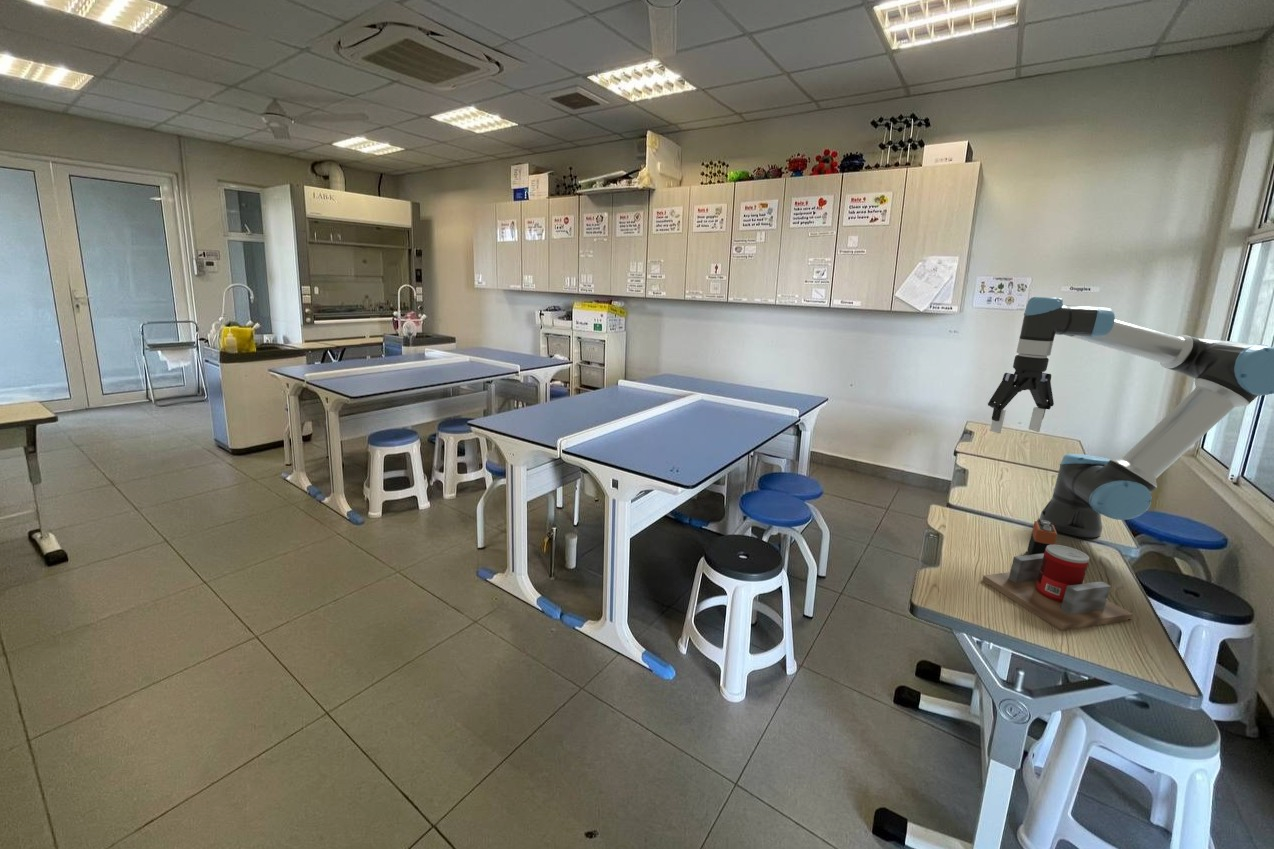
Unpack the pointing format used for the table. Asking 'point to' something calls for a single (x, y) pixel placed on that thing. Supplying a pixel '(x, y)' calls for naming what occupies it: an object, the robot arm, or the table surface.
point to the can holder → (1074, 612)
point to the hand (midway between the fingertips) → (1014, 431)
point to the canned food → (1061, 571)
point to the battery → (1041, 537)
